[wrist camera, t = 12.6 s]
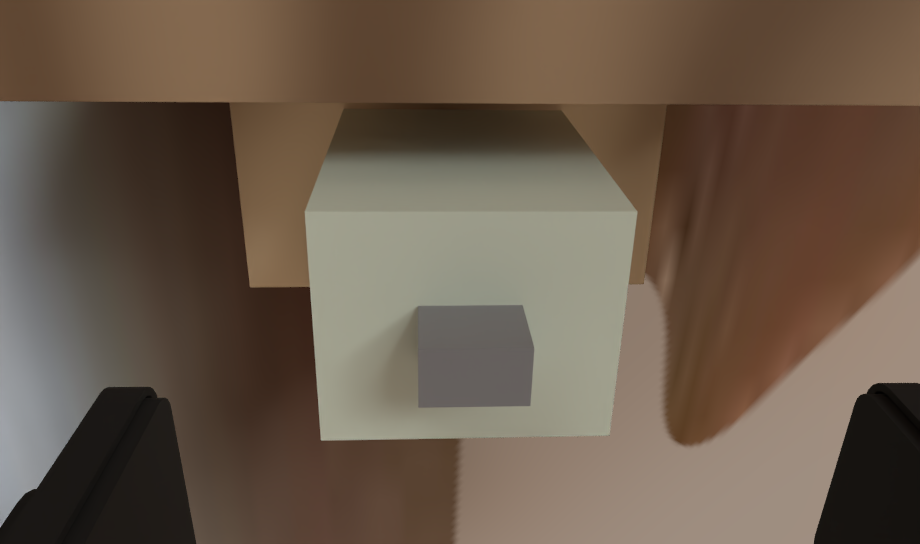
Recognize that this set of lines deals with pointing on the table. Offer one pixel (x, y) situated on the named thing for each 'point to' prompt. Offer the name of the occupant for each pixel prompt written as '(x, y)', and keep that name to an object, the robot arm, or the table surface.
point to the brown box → (451, 75)
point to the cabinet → (466, 277)
